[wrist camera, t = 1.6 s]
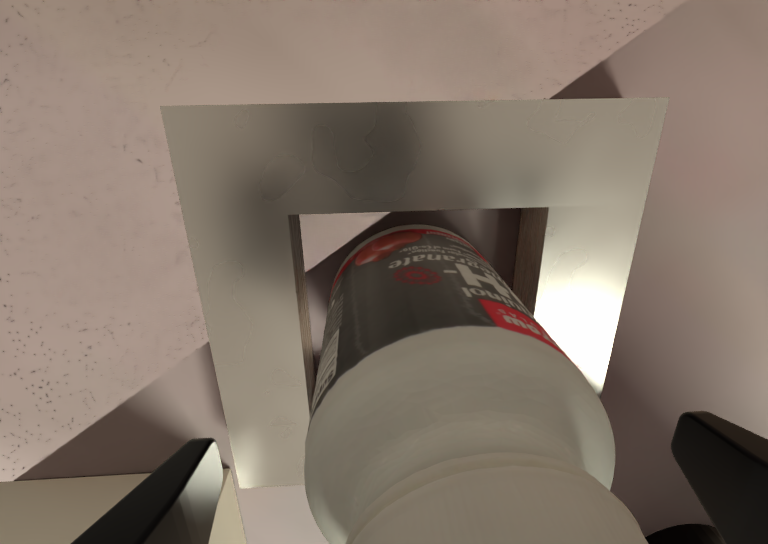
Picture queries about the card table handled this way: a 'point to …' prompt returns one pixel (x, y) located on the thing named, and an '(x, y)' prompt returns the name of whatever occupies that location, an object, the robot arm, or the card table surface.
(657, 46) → the card table surface
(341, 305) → the pill bottle
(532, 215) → the socket block
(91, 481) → the bin
